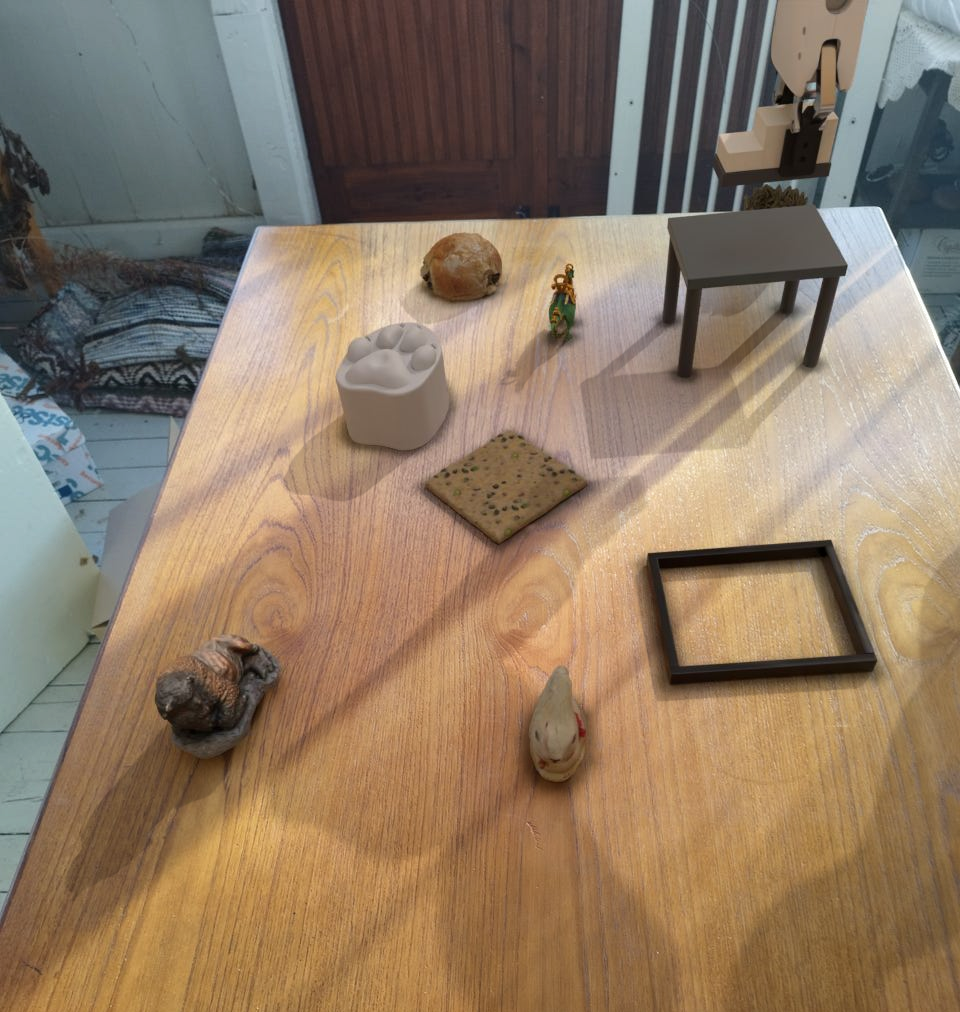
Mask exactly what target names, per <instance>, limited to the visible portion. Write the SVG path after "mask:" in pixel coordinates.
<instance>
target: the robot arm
mask: <svg viewBox="0 0 960 1012" xmlns="http://www.w3.org/2000/svg"><path fill="white" fill-rule="evenodd" d="M868 2H869V0H777V4H776V9H775V10H776V11H775V17H774V21H773V22H774V23H773V29H772V37H771V47H770V57H771V58H770V59H771V62H772V64H773V66H774V68H775V70H776V71H775V76H776V79H775V83H774V86H773V91H772V97H771V98H772V105H773V106H776V105H785V104H793V110H792V119H791V129H787V130H786V133H785V138H784V144H783V149H782V155H781V160H780V166H779V175H780V176H781V177H782V178H784V177H794V176H804V175H811V174H813V173H814V171H815V167H816V162H817V157H818V152H819V148H820V143H821V138H822V133H823V130H824V129H825V125H826V119H827V116H829V115H830V114H831V113H832V112H833V111H834V112H835V107H836V89H837V90H838V91H839V92H840V93H847V92H848V91H849V90H850V89H851V88H852V86H853V83H854V79H855V74H856V70H857V64H858V58H859V54H860V48H861V43H862V37H863V32H864V26H865V22H866V21H865V20H866V15H867V9H868ZM809 84H815V88H812V89H811V88H810V89H808V88H809ZM806 100H808V101H809V100H814V101H812V102H813V105H812V106H807V107H806V109H805V110H804V112H803V113H802V110H803V103H805V102H806Z"/></svg>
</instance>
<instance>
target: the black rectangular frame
mask: <svg viewBox="0 0 960 1012" xmlns="http://www.w3.org/2000/svg"><path fill="white" fill-rule="evenodd" d="M818 558H821V561H822V563H823V566H824V569H825V572H826V574H827V577H828V580H829V582H830V585H831V587H832V590H833V593H834V595H835V598H836V601H837V604H838V606H839V609H840V613H841V614H842V618H843V621H844V623H845V626H846V629H847V631H848V634H849V637H850V640H851V642H852V645H853V648H854V651H855V653H856V654H846V655H845V654H843V655H831V656H817V657H816V656H815V657H802V658H801V657H800V658H784V659H770V660H756V661H755V660H754V661H739V662H738V661H737V662H723V663H709V664H695V665H694V664H693V665H680V662H679V661H680V660H679V656H678V651H677V647H676V642H675V637H674V632H673V627H672V622H671V618H670V612H669V608H668V602H667V599H666V598H667V597H666V594H665V590H664V584H663V579H662V574H661V570H666V569H680V568H694V567H709V566H722V565H723V566H724V565H735V564H750V563H764V562H778V561H789V560H791V561H792V560H805V559H818ZM646 569H647V574H648V579H649V583H650V584H649V585H650V589H651V594H652V599H653V604H654V609H655V614H656V620H657V625H658V631H659V635H660V641H661V646H662V651H663V656H664V661H665V666H666V671H667V676H668V682H669V685H683V684H684V685H685V684H699V683H715V682H729V681H745V680H761V679H775V678H777V679H778V678H791V677H805V676H806V677H807V676H820V675H821V676H822V675H836V674H851V673H867V672H873V671H874V670H875V667H876V665H877V663H878V658H877V655H876V653H875V650H874V647H873V644H872V642H871V639H870V637H869V635H868V634H869V633H868V632H867V629H866V626H865V624H864V621H863V618H862V616H861V613H860V611H859V608H858V606H857V603H856V600H855V597H854V595H853V592H852V590H851V588H850V585H849V581H848V580H847V576H846V574H845V572H844V570H843V567H842V564H841V561H840V559H839V556H838V554H837V551H836V549H835V545H834V543H833V541H832V539H821V540H808V541H794V542H793V541H792V542H779V543H769V544H768V543H767V544H764V543H763V544H752V545H751V544H750V545H739V546H725V547H711V548H698V549H697V548H696V549H686V550H685V549H684V550H683V549H682V550H670V551H657V552H647V556H646Z"/></svg>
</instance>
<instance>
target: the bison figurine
mask: <svg viewBox="0 0 960 1012" xmlns="http://www.w3.org/2000/svg"><path fill="white" fill-rule="evenodd" d="M281 668H282V666H281V663H280V661H279V660H278V659H277V657H275V655H274V654H272V652H271V651H270V650H268V649H267V648H265V647H264V646H261V645H258V644H257V643H251V642H250V641H249V640H248V639H247V638H246V637H242V636H241V635H238V634H231V633H224V634H220V635H218V636H213V637H211V638H210V639H208V640H206V641H204V642H203V643H202V644H201V645H200V647H199V648H197V649H196V650H194V651H192V652H191V653H188V654H186V655H184V656H179V657H177V658H176V659H173V660H172V661H170V662H169V663H168V664H167V665H166V666H164V668H163V669H162V670H161V671H160V673H159V675H158V676H157V679H156V682H155V693H154V703H155V707H156V709H157V712H158V713H159V715H160V717H161V719H163V720H164V721H167V722H168V723H169V724H170V726H171V734H170V738H169V742H170V744H172V745H173V746H174V747H176V748H178V749H179V750H181V751H184V752H186V753H188V754H190V755H191V756H194V757H196V758H197V759H203V760H206V759H212V758H215V757H218V756H219V755H221V754H224V753H225V752H226V751H229V750H230V749H233V748H235V747H236V746H237V745H239V744H240V743H241V742H243V741H244V740H245V739H246V737H247V736H248V735H249V733H250V730H251V723H252V719H253V716H254V714H255V711H256V710H257V709H256V708H257V706H258V705H259V704H260V702H261V700H262V699H263V698H264V695H265V694H266V693H267V692H268V691H270V690H271V689H272V688H274V687H277V684H278V679H279V675H280V672H281Z"/></svg>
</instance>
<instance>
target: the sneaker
mask: <svg viewBox="0 0 960 1012" xmlns="http://www.w3.org/2000/svg"><path fill="white" fill-rule="evenodd" d="M804 102H805V103H803V110H802V113H803V112H804V110H805V109H806V107H807V106H812V105H813V102H814V101H804ZM775 105H776V106H774V105H768V106H767V105H766V106H757V107H756V108H755V114H754V120H753V128H752V130H746V131H737V132H736V131H735V132H728V133H718V136H717V137H718V138H717V144H716V145H717V146H716V153H713V156H712V168H713V171H714V173H715V175H716V177H717V180H718V182H719V183H720V186H721V188H727V187H737V186H747V185H756V184H768V183H777V182H778V183H779V182H788V181H797V180H806V179H807V180H808V179H816V178H827V177H829V176H830V172H831V168H832V162H831V156H832V151H833V146H834V142H835V137H836V133H837V128H838V124H839V117H838V116H837V114H836V113H835V110H834V111H833V112H832V113H831V114H830V115H829V116H827V119H826V125H825V129H824V130H823V133H822V138H821V143H820V148H819V152H818V157H817V162H816V167H815V171H814V173H813V174H811V175H804V176H794V177H784V178H782V177H781V176H780V175H779V166H780V160H781V155H782V149H783V144H784V138H785V133H786V130H787V129H791V119H792V110H793V104H785V105H778V104H775Z"/></svg>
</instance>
